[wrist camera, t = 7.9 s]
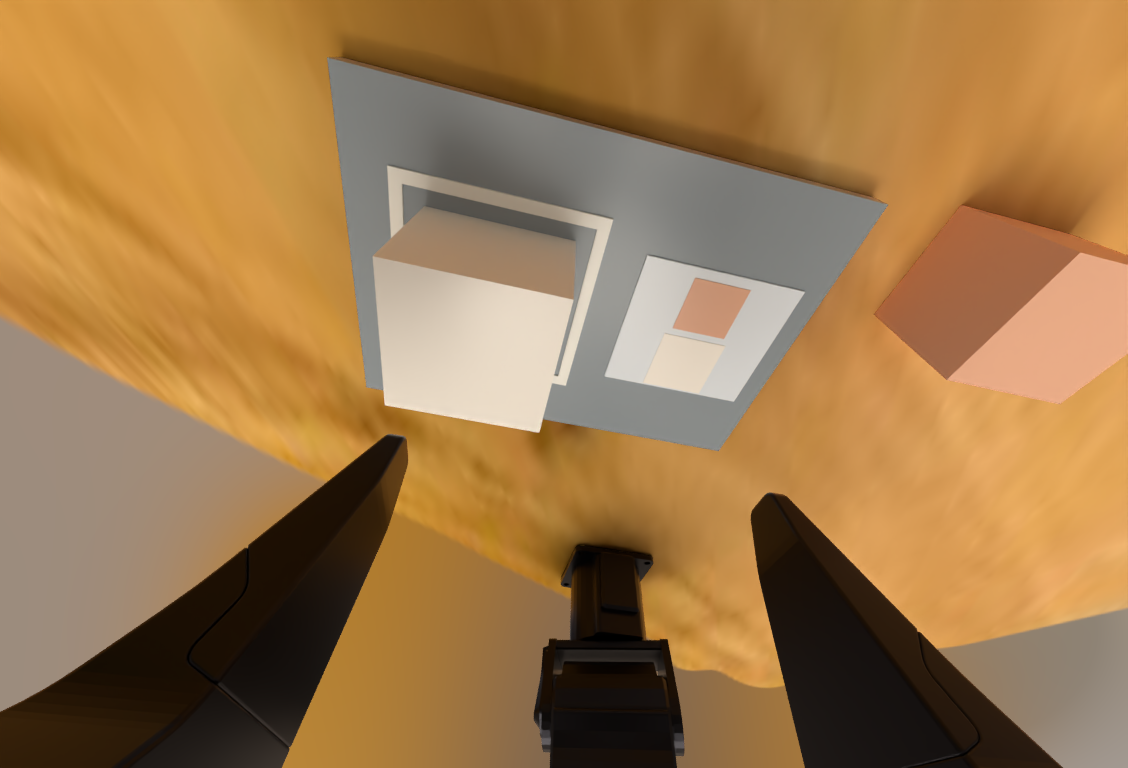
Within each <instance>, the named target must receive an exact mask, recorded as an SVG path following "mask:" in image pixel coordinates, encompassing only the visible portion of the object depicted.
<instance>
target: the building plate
mask: <svg viewBox="0 0 1128 768" xmlns="http://www.w3.org/2000/svg"><path fill="white" fill-rule="evenodd" d="M327 59H328V68H329V76H330V85H331V93H332V101H333V110H334V118H335V127H336V135H337V143H338V152H339V160H340V169H341V177H342V185H343V194H344V202H345V211H346V219H347V227H348V236H349V244H350V253H351V261H352V269H353V278H354V286H355V295H356V303H357V311H358V320H359V328H360V337H361V345H362V353H363V362H364V370H365V379H366V387H368V388H374V389H379V390H384V389H383V377H382V365H381V353H380V341H379V329H378V317H377V305H376V293H375V280H374V268H373V255H374V254H375V253H376V252H377V251H378V250H379V249H380V248H382V247H383V246H384V245H385V244H386V243H387V242H388V241H389V240H390V239H391V238H392V237H393V236H394V235H395V234H396V233H397V232H398V231H399V230H400V229H401V228H402V227H403V226H404V225H405V224H406V223H407V222H408V221H409V220H410V219H412V218H413V217H414V216H415V215H416V214H417V213H418V212H419V211H420V210H421V209H422V208H423V207H424V206H426V207H431V208H435V209H439V210H444V211H448V212H452V213H457V214H461V215H465V216H469V217H474V218H478V219H482V220H487V221H491V222H495V223H500V224H504V225H508V226H513V227H517V228H521V229H525V230H530V231H534V232H538V233H543V234H547V235H551V236H556V237H560V238H564V239H569V240H573V241H576V251H575V277H574V300H573V304H572V308H571V312H570V316H569V320H568V323H567V327H566V331H565V335H564V339H563V343H562V347H561V351H560V354H559V358H558V362H557V366H556V370H555V374H554V378H553V381H552V385H551V389H550V393H549V397H548V401H547V405H546V408H545V412H544V416H543V419H545V420H550V421H556V422H561V423H567V424H572V425H578V426H584V427H589V428H595V429H600V430H606V431H611V432H617V433H622V434H628V435H633V436H639V437H644V438H650V439H655V440H661V441H666V442H672V443H677V444H683V445H688V446H694V447H699V448H705V449H710V450H716V451H719V450H720V448H721V447H722V445H723V444H724V442H725V441H726V440H727V438H728V437H729V435H730V434H731V432H732V431H733V429H734V428H735V427H736V425H737V424H738V422H739V421H740V419H741V418H742V416H743V415H744V413H745V412H746V411H747V409H748V408H749V406H750V405H751V403H752V402H753V400H754V399H755V397H756V396H757V395H758V393H759V392H760V390H761V389H762V387H763V386H764V384H765V383H766V381H767V380H768V379H769V377H770V376H771V374H772V373H773V371H774V370H775V368H776V367H777V366H778V364H779V363H780V361H781V360H782V358H783V357H784V355H785V354H786V352H787V351H788V350H789V348H790V347H791V345H792V344H793V342H794V341H795V339H796V338H797V336H798V335H799V334H800V332H801V331H802V329H803V328H804V326H805V325H806V323H807V322H808V321H809V319H810V318H811V316H812V315H813V313H814V312H815V310H816V309H817V307H818V306H819V305H820V303H821V302H822V300H823V299H824V297H825V296H826V294H827V293H828V291H829V290H830V289H831V287H832V286H833V284H834V283H835V281H836V280H837V278H838V277H839V276H840V274H841V273H842V271H843V270H844V268H845V267H846V265H847V264H848V262H849V261H850V260H851V258H852V257H853V255H854V254H855V252H856V251H857V249H858V248H859V246H860V245H861V244H862V242H863V241H864V239H865V238H866V236H867V235H868V233H869V232H870V231H871V229H872V228H873V226H874V225H875V223H876V222H877V220H878V219H879V217H880V216H881V215H882V213H883V212H884V210H885V209H886V207H887V206H888V204H886V203H884V202H882V201H880V200H878V199H876V198H874V197H870V196H866V195H863V194H859V193H855V192H851V191H847V190H844V189H840V188H836V187H832V186H828V185H825V184H821V183H817V182H813V181H810V180H806V179H802V178H798V177H794V176H791V175H787V174H783V173H779V172H775V171H772V170H768V169H764V168H760V167H756V166H753V165H749V164H745V163H741V162H737V161H734V160H730V159H726V158H722V157H718V156H715V155H711V154H707V153H703V152H700V151H696V150H692V149H688V148H684V147H681V146H677V145H673V144H669V143H665V142H662V141H658V140H654V139H650V138H646V137H643V136H639V135H635V134H631V133H627V132H624V131H620V130H616V129H612V128H608V127H605V126H601V125H597V124H593V123H589V122H586V121H582V120H578V119H574V118H571V117H567V116H563V115H559V114H555V113H552V112H548V111H544V110H540V109H536V108H533V107H529V106H525V105H521V104H517V103H514V102H510V101H506V100H502V99H498V98H495V97H491V96H487V95H483V94H479V93H476V92H472V91H468V90H464V89H461V88H457V87H453V86H449V85H445V84H442V83H438V82H434V81H430V80H426V79H423V78H419V77H415V76H411V75H407V74H404V73H400V72H396V71H392V70H388V69H385V68H381V67H377V66H373V65H369V64H366V63H362V62H358V61H354V60H351V59H347V58H343V57H327Z"/></svg>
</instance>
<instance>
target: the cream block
mask: <svg viewBox="0 0 1128 768" xmlns="http://www.w3.org/2000/svg"><path fill="white" fill-rule="evenodd" d="M575 251H576V241H573V240H569V239H564V238H560V237H556V236H551V235H547V234H543V233H538V232H534V231H530V230H525V229H521V228H517V227H513V226H508V225H504V224H500V223H495V222H491V221H487V220H482V219H478V218H474V217H469V216H465V215H461V214H457V213H452V212H448V211H444V210H439V209H435V208H431V207H426V206H424V207H423V208H422V209H421V210H420V211H419V212H418V213H417V214H416V215H415V216H414V217H413V218H412V219H410V220H409V221H408V222H407V223H406V224H405V225H404V226H403V227H402V228H401V229H400V230H399V231H398V232H397V233H396V234H395V235H394V236H393V237H392V238H391V239H390V240H389V241H388V242H387V243H386V244H385V245H384V246H383V247H382V248H380V249H379V250H378V251H377V252H376V253H375V254H374V255H373V268H374V280H375V293H376V305H377V317H378V329H379V341H380V353H381V365H382V377H383V389H384V401H385V405H387V406H392V407H398V408H403V409H409V410H415V411H420V412H426V413H432V414H437V415H443V416H448V417H454V418H460V419H465V420H471V421H476V422H482V423H488V424H493V425H499V426H504V427H510V428H516V429H521V430H527V431H532V432H538V433H539V432H540V428H541V424H542V420H543V416H544V412H545V408H546V405H547V401H548V397H549V393H550V389H551V385H552V381H553V378H554V374H555V370H556V366H557V362H558V358H559V354H560V351H561V347H562V343H563V339H564V335H565V331H566V327H567V323H568V320H569V316H570V312H571V308H572V304H573V300H574V277H575Z"/></svg>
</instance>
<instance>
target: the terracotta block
mask: <svg viewBox="0 0 1128 768" xmlns="http://www.w3.org/2000/svg"><path fill="white" fill-rule="evenodd" d="M874 315H875V316H876V317H877V318H878V319H879V320H881V321H882V322H883V323H884V324H885V325H886V326H887V327H888V328H889V329H891V330H892V331H893V332H894V333H895V334H896V335H897V336H898V337H899V338H901V339H902V340H903V341H904V342H905V343H906V344H907V345H908V346H909V347H911V348H912V349H913V350H914V351H915V352H916V353H917V354H918V355H919V356H921V357H922V358H923V359H924V360H925V361H926V362H927V363H928V364H930V365H931V366H932V367H933V368H934V369H935V370H936V371H937V372H938V373H940V374H941V375H942V376H943V377H944V378H945V379H946V380H949V381H954V382H959V383H963V384H968V385H973V386H977V387H982V388H987V389H991V390H996V391H1001V392H1005V393H1010V394H1014V395H1019V396H1024V397H1028V398H1033V399H1038V400H1042V401H1047V402H1052V403H1056V404H1061V403H1062V402H1063V401H1065V400H1066V399H1067V398H1069V397H1070V396H1071V395H1073V394H1074V393H1075V392H1077V391H1078V390H1079V389H1081V388H1082V387H1083V386H1085V385H1086V384H1087V383H1089V382H1090V381H1091V380H1093V379H1094V378H1095V377H1097V376H1098V375H1099V374H1101V373H1102V372H1103V371H1105V370H1106V369H1107V368H1109V367H1110V366H1112V365H1113V364H1114V363H1116V362H1117V361H1118V360H1120V359H1121V358H1122V357H1124V356H1125V355H1126V354H1128V255H1125V254H1122V253H1120V252H1117V251H1114V250H1111V249H1109V248H1106V247H1103V246H1101V245H1098V244H1095V243H1093V242H1090V241H1087V240H1085V239H1082V238H1079V237H1077V236H1074V235H1071V234H1068V233H1064V232H1061V231H1057V230H1053V229H1050V228H1046V227H1042V226H1038V225H1035V224H1031V223H1027V222H1024V221H1020V220H1016V219H1012V218H1009V217H1005V216H1001V215H998V214H994V213H990V212H986V211H983V210H979V209H975V208H971V207H968V206H964V205H961V206H960V207H959V208H958V210H957V211H956V212H955V213H954V215H953V216H952V217H951V218H950V220H949V221H948V222H947V223H946V225H945V226H944V227H943V228H942V230H941V231H940V232H939V233H938V235H937V236H936V237H935V238H934V240H933V241H932V242H931V243H930V245H929V246H928V247H927V248H926V250H925V251H924V252H923V254H922V255H921V256H920V257H919V259H918V260H917V261H916V262H915V264H914V265H913V266H912V267H911V269H910V270H909V271H908V272H907V274H906V275H905V276H904V277H903V279H902V280H901V281H900V282H899V284H898V285H897V286H896V287H895V289H894V290H893V291H892V292H891V294H890V295H889V296H888V297H887V299H886V300H885V301H884V302H883V304H882V305H881V306H880V307H879V309H878V310H877V311H876V312H875V314H874Z"/></svg>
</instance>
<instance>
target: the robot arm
mask: <svg viewBox="0 0 1128 768" xmlns="http://www.w3.org/2000/svg"><path fill="white" fill-rule="evenodd" d="M407 465H408V451H407V440H406V438H405V437H404V436H400V435H393V434H388V435H386V436H384V437H383V438H382V439H380V440H379V441H378V442H377V443H375V444H374V445H373V446H372V447H370V448H369V449H368V450H367V451H365V452H364V453H363V454H362V455H360V456H359V457H358V458H357V459H355V460H354V461H353V462H352V463H350V464H349V465H348V466H347V467H345V468H344V469H343V470H342V471H340V472H339V473H338V474H337V475H335V476H334V477H333V478H332V479H330V480H329V481H328V482H327V483H325V484H324V485H323V486H322V487H320V488H319V489H318V490H317V491H315V492H314V493H313V494H312V495H310V496H309V497H308V498H307V499H306V500H304V501H303V502H302V503H300V504H299V505H298V506H297V507H295V508H294V509H293V510H292V511H290V512H289V513H288V514H287V515H285V516H284V517H283V518H282V519H281V520H279V521H278V522H277V523H275V524H274V525H273V526H272V527H270V528H269V529H268V530H267V531H265V532H264V533H263V534H262V535H260V536H259V537H258V538H257V539H255V540H254V541H253V542H252V543H250V544H249V545H248V548H244V549H243V550H242V551H240V552H239V553H238V554H236V555H235V556H234V557H233V558H231V559H230V560H229V561H228V562H226V563H225V564H224V565H222V566H221V567H220V568H219V569H217V570H216V571H215V572H213V573H212V574H211V575H209V576H208V577H207V578H206V579H204V580H203V581H202V582H200V583H199V584H198V585H196V586H195V587H193V588H192V589H191V590H189V591H188V592H187V593H185V594H184V595H183V596H181V597H179V598H178V599H177V600H175V601H174V602H172V603H171V604H170V605H168V606H167V607H165V608H164V609H163V610H161V611H160V612H158V613H157V614H155V615H154V616H152V617H151V618H149V619H148V620H147V621H145V622H144V623H142V624H141V625H140V626H138V627H136V628H135V629H133V630H132V631H131V632H129V633H128V634H126V635H125V636H123V637H122V638H120V639H119V640H117V641H116V642H114V643H113V644H112V645H110V646H109V647H107V648H106V649H104V650H103V651H101V652H100V653H99V654H97V655H95V656H94V657H93V658H91V659H90V660H88V661H87V662H85V663H84V664H83V665H81V666H79V667H78V668H76V669H75V670H74V671H72V672H71V673H69V674H67V675H66V676H64V677H63V678H61V679H60V680H58V681H57V682H55V683H53V684H51V685H50V686H48V687H47V688H45V689H43V690H42V691H40V692H38V693H36V694H34V695H32V696H30V697H29V698H27V699H25V700H24V701H21V702H19V703H17V704H15V705H13V706H11V707H9V708H7V709H5V710H3V711H1V712H0V768H282V766H283V763H284V761H285V759H286V757H287V754H288V752H289V747H290V746H291V745H292V743H293V740H294V738H295V736H296V734H297V731H298V729H299V727H300V725H301V723H302V720H303V718H304V716H305V714H306V711H307V709H308V707H309V705H310V702H311V700H312V698H313V696H314V693H315V691H316V689H317V686H318V684H319V682H320V680H321V678H322V675H323V673H324V671H325V668H326V666H327V664H328V662H329V660H330V657H331V655H332V653H333V651H334V648H335V646H336V644H337V642H338V639H339V637H340V635H341V633H342V631H343V628H344V626H345V624H346V622H347V619H348V617H349V615H350V613H351V610H352V608H353V606H354V604H355V601H356V599H357V597H358V595H359V592H360V590H361V587H362V586H363V583H364V581H365V579H366V577H367V574H368V572H369V570H370V567H371V565H372V563H373V561H374V559H375V556H376V554H377V552H378V550H379V547H380V545H381V543H382V541H383V538H384V536H385V533H386V531H387V529H388V526H389V523H390V520H391V517H392V514H393V511H394V507H395V504H396V501H397V498H398V495H399V491H400V488H401V485H402V482H403V479H404V475H405V472H406V469H407ZM751 525H752V532H753V539H754V547H755V554H756V561H757V568H758V574H759V580H760V584H761V589H762V593H763V597H764V601H765V605H766V609H767V613H768V617H769V622H770V626H771V630H772V634H773V638H774V642H775V646H776V650H777V654H778V659H779V663H780V667H781V671H782V675H783V679H784V683H785V687H786V691H787V695H788V700H789V704H790V708H791V712H792V716H793V720H794V724H795V728H796V733H797V737H798V740H799V745H800V749H801V753H802V757H803V761H804V765H805V768H1063V767H1062V766H1061V765H1059V764H1058V763H1057V762H1056V761H1055V760H1054V759H1053V758H1052V757H1051V756H1050V755H1049V754H1047V753H1046V752H1045V751H1044V750H1043V749H1042V748H1041V747H1040V746H1039V745H1038V744H1036V742H1034V741H1033V740H1032V739H1031V738H1030V737H1029V736H1028V735H1027V734H1026V733H1025V732H1024V731H1023V730H1021V729H1020V728H1019V727H1018V726H1017V725H1016V724H1015V723H1014V722H1013V721H1012V720H1011V719H1010V718H1008V717H1007V716H1006V715H1005V714H1004V713H1003V712H1002V711H1001V710H1000V709H999V708H997V706H995V705H994V704H993V703H992V702H991V701H990V700H989V699H988V698H987V697H986V696H985V695H984V694H983V693H982V692H980V691H979V690H978V689H977V688H976V687H975V686H974V685H973V684H972V683H971V682H970V681H969V680H968V679H967V678H966V677H965V676H964V675H963V674H961V673H960V672H959V671H958V670H957V669H956V668H955V667H954V666H953V665H952V664H951V663H950V662H949V661H948V660H947V659H946V658H945V657H944V656H943V655H942V654H941V653H940V652H939V651H938V650H937V649H936V648H935V647H934V646H933V645H932V644H931V643H930V642H929V641H928V640H927V639H926V638H925V637H924V635H923V634H922V633H920V632H917V629H916V627H915V626H914V625H913V624H912V623H911V622H910V621H909V620H908V619H907V618H906V617H905V616H904V615H903V614H902V613H901V612H900V611H899V610H898V609H897V608H896V607H895V606H894V605H893V604H892V603H891V602H890V601H889V600H888V599H887V598H886V597H885V596H884V595H883V594H882V593H881V592H880V591H879V590H878V589H877V588H876V587H875V586H874V585H873V584H872V583H871V582H870V581H869V580H868V579H867V578H866V577H865V576H864V575H863V574H862V573H861V571H860V570H859V569H858V568H857V567H856V566H855V565H854V564H853V563H852V562H851V561H850V560H849V559H848V558H847V557H846V556H845V555H844V554H843V553H842V552H841V551H840V550H839V549H838V548H837V547H836V546H835V545H834V544H833V543H832V542H831V541H830V540H829V539H828V538H827V537H826V536H825V535H824V534H823V533H822V532H821V531H820V530H819V529H818V528H817V527H816V526H815V525H814V524H813V523H812V522H811V521H810V520H809V519H808V518H807V517H806V516H805V514H804V513H803V512H802V511H801V510H800V509H799V508H798V507H797V506H796V505H795V504H794V503H793V502H792V501H791V500H790V499H789V498H788V497H787V496H785V495H783V494H777V493H767V494H766V495H765V496H764V497H763V498H762V499H761V500H760V501H759V503H758V504H757V505H756V506H755V507H754V509H753V510H752V513H751ZM652 565H653V557H652V556H649V555H642V554H636V553H629V552H622V551H615V550H609V549H602V548H595V547H589V546H577V547H576V548H575V550H574V552H573V554H572V556H571V558H570V561H569V563H568V565H567V567H566V569H565V572H564V574H563V576H562V578H561V585H562V586H563V587H569V588H571V619H570V640H557V639H549V646H547V647H544V648H543V657H542V670H541V677H540V684H539V688H538V694H537V699H536V704H535V710H534V721H535V723H536V724H537V726H538V727H539V729H540V736H541V738H542V748H543V752H550V768H677V765H676V756H684V735H683V725H682V717H681V709H680V704H679V697H678V692H677V687H676V682H675V676H674V671H673V666H672V661H671V655H670V650H669V645H668V640H667V639H660V640H646V631H645V622H644V613H643V604H642V594H641V585H640V581H641V580H642V579H643V577H644V576H645V574H646V573H647V572H648V570H649V569H650V568H651V566H652ZM656 671H658V676H657V674H656Z"/></svg>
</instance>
